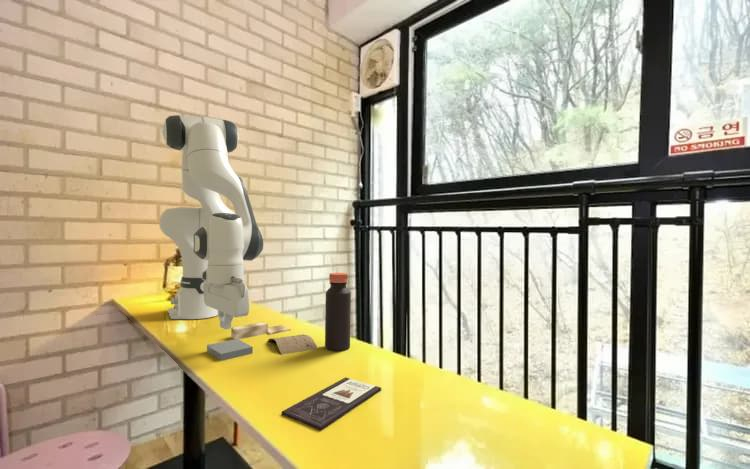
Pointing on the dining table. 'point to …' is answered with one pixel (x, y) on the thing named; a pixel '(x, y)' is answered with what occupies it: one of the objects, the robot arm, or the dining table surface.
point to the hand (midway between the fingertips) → (225, 328)
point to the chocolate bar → (331, 403)
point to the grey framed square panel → (229, 349)
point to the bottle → (337, 313)
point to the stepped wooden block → (256, 330)
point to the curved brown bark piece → (294, 343)
